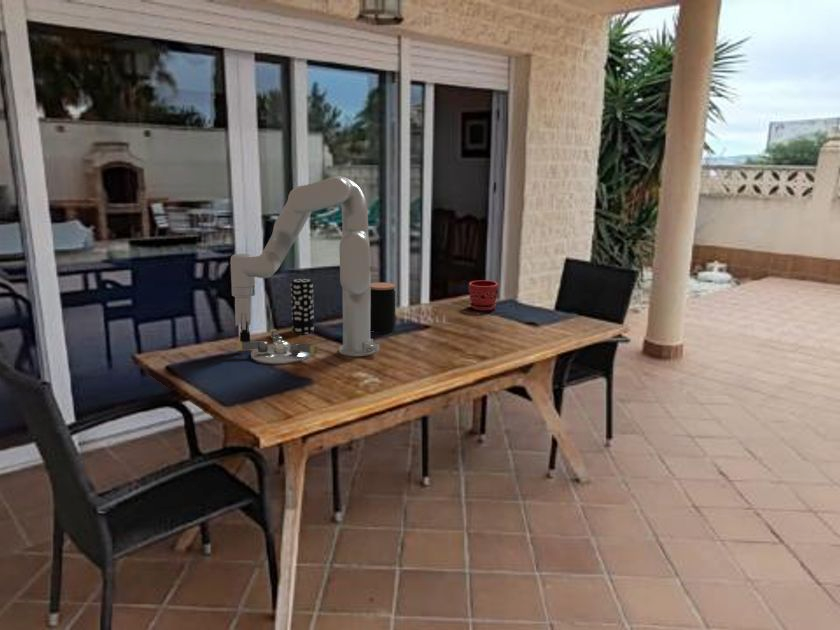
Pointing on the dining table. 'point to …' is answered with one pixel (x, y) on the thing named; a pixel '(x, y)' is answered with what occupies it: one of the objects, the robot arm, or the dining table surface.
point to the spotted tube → (302, 306)
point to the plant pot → (483, 294)
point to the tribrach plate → (279, 354)
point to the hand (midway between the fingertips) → (245, 343)
